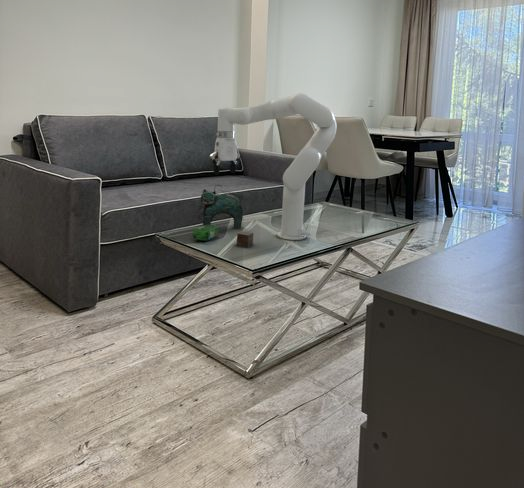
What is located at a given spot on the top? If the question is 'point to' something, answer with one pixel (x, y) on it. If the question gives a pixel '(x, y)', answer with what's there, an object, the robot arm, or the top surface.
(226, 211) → the ceramic cat
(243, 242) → the walnut block
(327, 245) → the top surface
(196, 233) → the snack package
